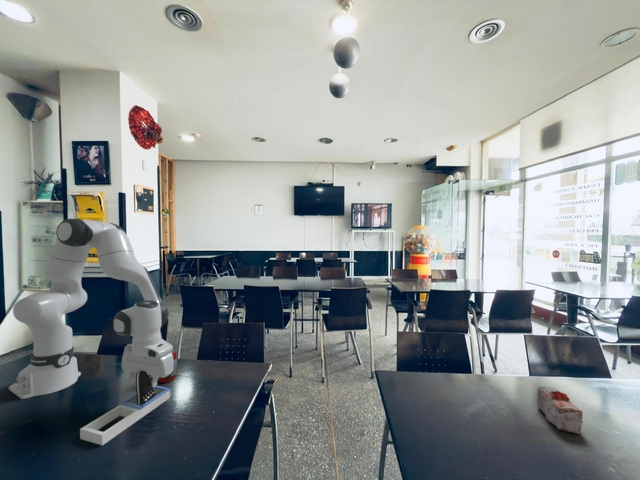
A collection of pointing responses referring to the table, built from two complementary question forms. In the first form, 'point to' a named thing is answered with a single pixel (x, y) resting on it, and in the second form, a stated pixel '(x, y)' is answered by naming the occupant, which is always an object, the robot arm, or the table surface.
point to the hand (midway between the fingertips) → (146, 384)
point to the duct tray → (124, 410)
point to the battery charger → (143, 387)
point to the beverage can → (174, 373)
